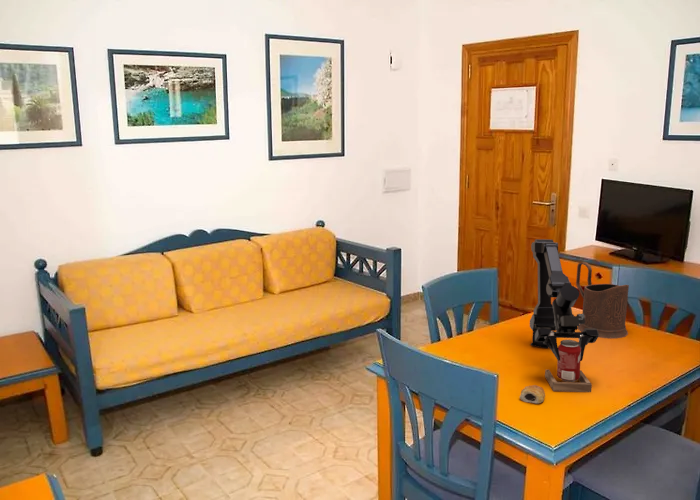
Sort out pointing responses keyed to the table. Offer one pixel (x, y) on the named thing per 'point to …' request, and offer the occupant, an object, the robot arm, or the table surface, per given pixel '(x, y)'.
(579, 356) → the soda can
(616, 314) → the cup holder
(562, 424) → the table surface
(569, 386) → the frame
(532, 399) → the pastry
